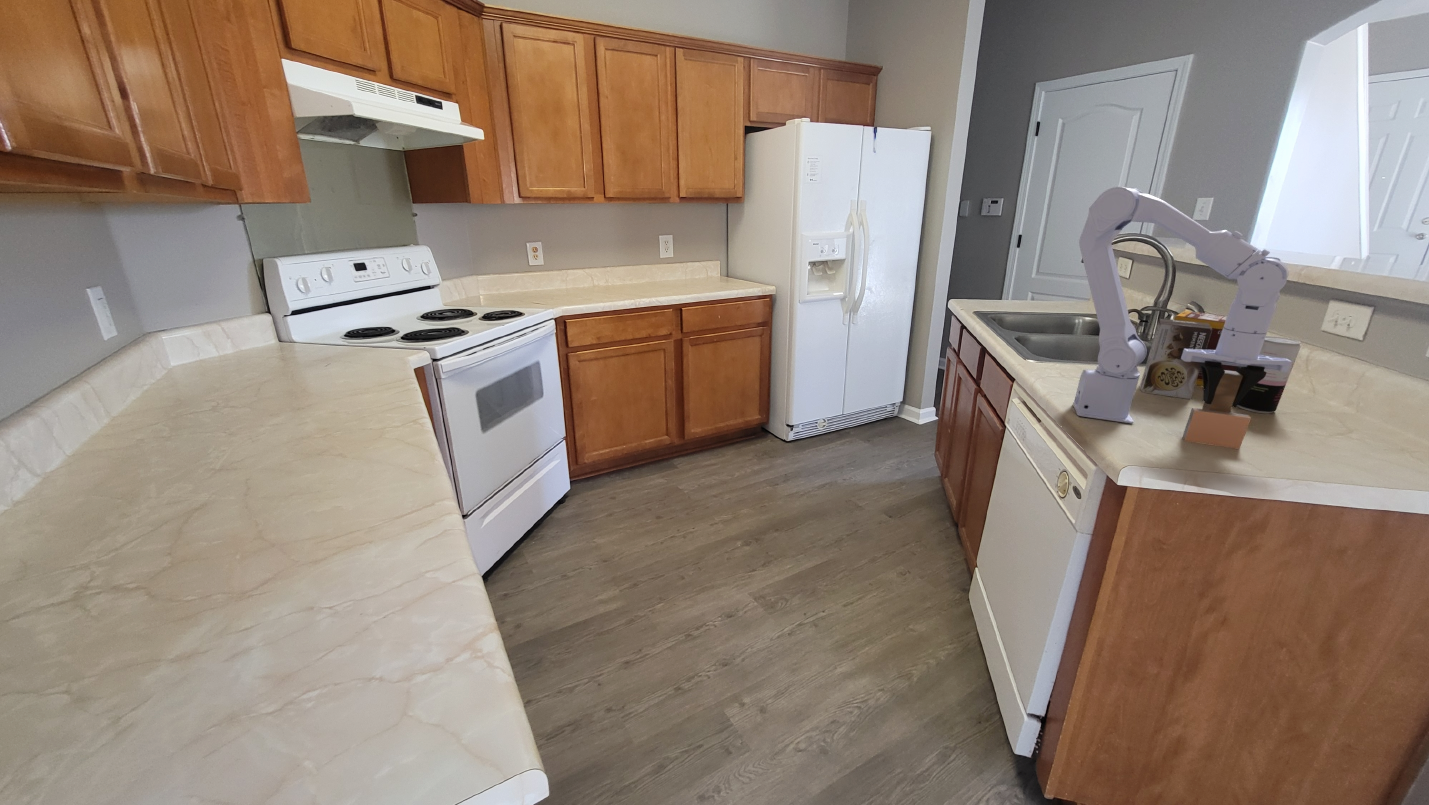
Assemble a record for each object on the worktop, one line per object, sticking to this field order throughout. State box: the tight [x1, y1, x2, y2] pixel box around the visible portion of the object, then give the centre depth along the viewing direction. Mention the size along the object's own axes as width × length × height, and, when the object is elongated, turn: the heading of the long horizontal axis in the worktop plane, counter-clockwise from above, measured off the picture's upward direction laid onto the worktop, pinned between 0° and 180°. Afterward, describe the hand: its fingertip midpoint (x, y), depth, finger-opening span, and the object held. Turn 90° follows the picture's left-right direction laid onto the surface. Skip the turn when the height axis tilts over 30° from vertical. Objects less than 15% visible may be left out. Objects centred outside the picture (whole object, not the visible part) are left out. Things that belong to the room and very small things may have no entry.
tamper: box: [1201, 370, 1243, 413], centre depth 103 cm, size 6×3×9 cm, turn 66°
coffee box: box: [1139, 318, 1212, 400], centre depth 128 cm, size 9×6×16 cm
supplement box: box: [1173, 310, 1237, 387], centre depth 137 cm, size 10×15×16 cm
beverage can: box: [1236, 335, 1302, 414], centre depth 119 cm, size 6×7×15 cm
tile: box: [1181, 407, 1252, 450], centre depth 103 cm, size 8×2×6 cm, turn 66°
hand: (1218, 403), depth 103 cm, fingers closed on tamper, 3 cm apart
